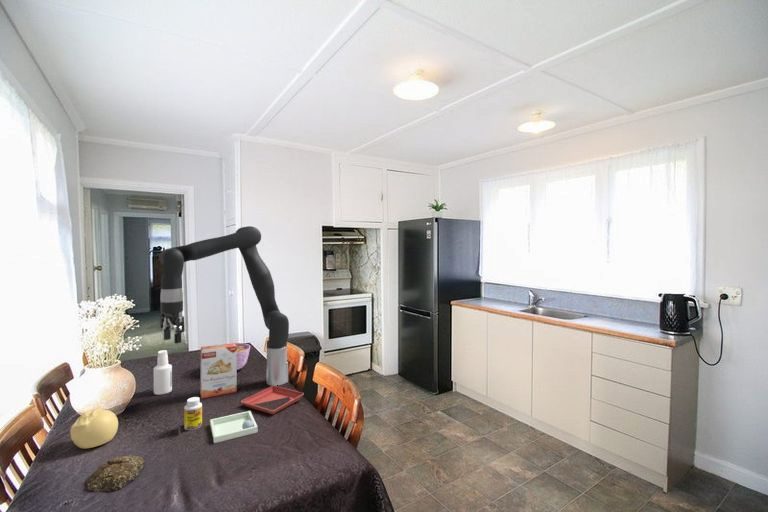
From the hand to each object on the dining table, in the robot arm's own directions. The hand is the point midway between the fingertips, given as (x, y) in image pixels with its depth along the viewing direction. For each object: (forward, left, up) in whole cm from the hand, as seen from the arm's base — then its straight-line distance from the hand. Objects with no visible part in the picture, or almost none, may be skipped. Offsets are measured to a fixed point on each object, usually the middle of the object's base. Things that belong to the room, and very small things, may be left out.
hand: (172, 341), depth 137 cm
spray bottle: (+4, -22, -27) cm, 35 cm away
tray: (-18, +28, -27) cm, 43 cm away
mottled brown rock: (+14, +38, -28) cm, 49 cm away
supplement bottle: (-6, +19, -27) cm, 34 cm away
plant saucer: (-35, +14, -28) cm, 47 cm away
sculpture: (+22, +14, -28) cm, 38 cm away
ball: (-22, +32, -27) cm, 47 cm away
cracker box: (-17, -8, -27) cm, 33 cm away
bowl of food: (-25, -36, -27) cm, 52 cm away
